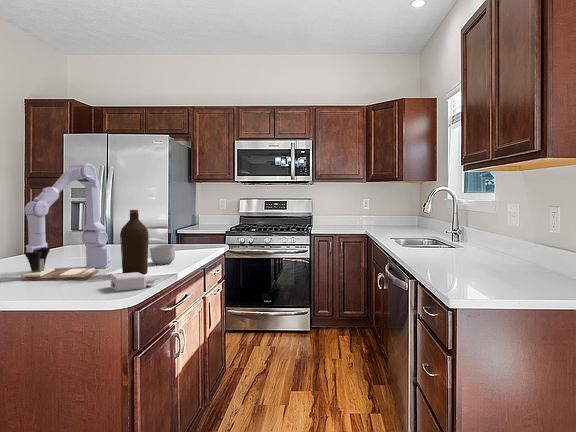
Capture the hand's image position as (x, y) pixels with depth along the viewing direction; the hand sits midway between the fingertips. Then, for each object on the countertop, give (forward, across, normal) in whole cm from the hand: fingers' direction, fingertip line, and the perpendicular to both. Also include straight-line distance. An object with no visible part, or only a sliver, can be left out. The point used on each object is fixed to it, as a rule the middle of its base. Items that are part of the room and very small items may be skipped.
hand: (37, 269), depth 186 cm
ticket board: (+3, 0, +9) cm, 9 cm away
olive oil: (+3, -4, +35) cm, 35 cm away
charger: (+3, +23, +41) cm, 47 cm away
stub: (+2, 0, 0) cm, 2 cm away
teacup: (+3, -31, +42) cm, 52 cm away
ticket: (+2, 0, +14) cm, 14 cm away
